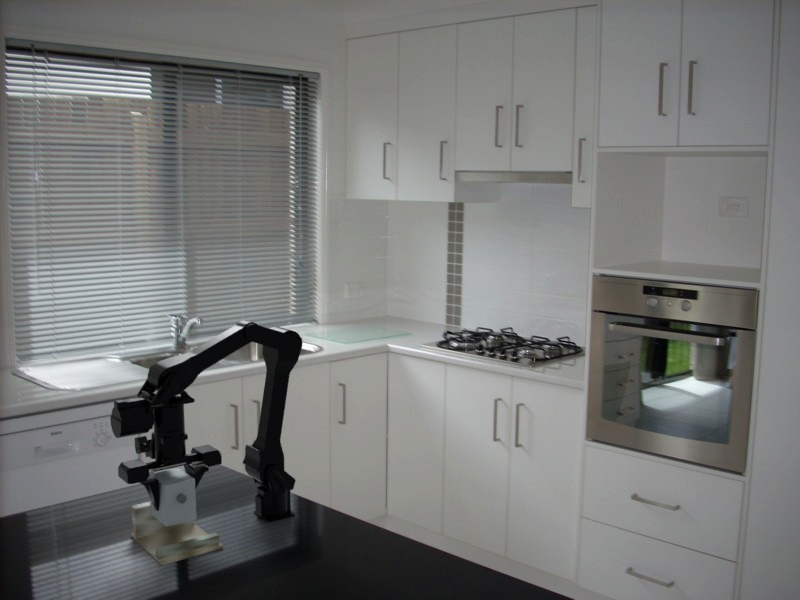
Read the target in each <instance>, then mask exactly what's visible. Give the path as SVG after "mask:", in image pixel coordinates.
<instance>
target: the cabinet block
mask: <svg viewBox="0 0 800 600" xmlns="http://www.w3.org/2000/svg"><path fill="white" fill-rule="evenodd" d="M154 477H155V478H156V479H158V480H159V501H160V505H159V511H156V510H155V508H154V506H153V503H152V501H151V499H150V498H149V502H150V511H151V514H152V515H153V516H154V517H155V518H156V519H158V520H159V521H160V522H161V523H163V524H164V525H165V526H166V527H168V526H172V525H176V524H179V523H183V522H187V521H191V520H194V521H195V520H197V498H196V497H197V496H196V491H195V479H194V478H193V477H191V476H190V475H188V474H187V473H186V472H185V470H182V469H180V468H179V467H175V468H170V469H165V470H161V471H156V472H154Z"/></svg>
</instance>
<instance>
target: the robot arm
mask: <svg viewBox="0 0 800 600" xmlns="http://www.w3.org/2000/svg"><path fill="white" fill-rule="evenodd" d="M250 343H255V344H259V345H262V356H263V357H262V358H263V361H264V364H265V369H266V372H265V379H264V388H263V394H262V402H261V409H260V416H259V422H258V423H259V424H258V430H257V435H256V438H255V440H254V441H253V443H252V444H246V445H245V448H244V451H245V453H244V457H243V461H242V464H243V465H244V470H245V472H246V474H247V475H248V476H249V477H251V478H252V481H253V482H254V484H257V485H259V486H257V487H256V494H255V496H254V497H255V498H254V500H255V502H254V503H255V505H254V506H255V509H254V510H253V513H254V514H255V515H256V516H257V517H259V518H260V519H262V520H264V521H265V522H266V523H271V522H274V521H279V520H282V519H285V518H286V519H287V518H289V517H293V516H296V513H295V511H293V510H292V505H291V502H292V501H291V499H292V498H291V496H292V495H291V491H292V490H294V488H295V483H296V478H294V477H293V476H292V475H291V474H289V473H288V472H287V471H286V470H285V455H284V454H285V453H284V451H283V447H282V442H281V438H282V431H283V425H284V424H283V422H284V417H285V409H286V404H287V403H286V402H287V395H288V388H289V384H290V383H289V382H290V375H291V372H292V371H293V369H295V368H294V367H295V366H296V364H297V363H298V362H299V358H300V356H301V352H302V349H303V338H302V337H301V336H300V334H299V332H298V331H295V330H292V329H288V328H284V327H280V326H272V327H270V328H269V327H265V326H262V325H259V324H257V323H256V322H254V321H250V320H246V319H243V320H239V321H238V322H237V323H236V324H235V325H233V326H231V327H229V328H228V329H227V330H224V331H223V332H221V333H219V334H217V335H216V336H214V337H213V338H211V339H209V340H207V341H206V342H204V343H202V344H200V345H198V346H197V347H195V348H194V349H192V350H190V351H189V352H185V353H183V354H177V355H174V356H170V357H167V358H163V359H162V360H160V361H157V362H155V363H153V364H152V365H150V367H149V368H148V372H147V378H146V379H145V381H144V383H143V384H142V385H141V387H140V389H139V391H138V392H137V394H136V397H135V398H130V399H115V400H114V401H113V408H112V410H111V414H110V416H109V417H110V419H109V420H110V426H111V427H110V428H111V430H112V433H113V435H114V437H115V438H116V439H120V438H125V437H130V436H131V437H132V436H136V437H135V438H134V450H135V454H136V455H139V454H143V453H144V454H145V458H150V459H151V460H154V461H150V462H144V461H143V460H141V459H140V458H135V459H132V460H126V461H122V462H120V464H119V465H118V467H117V475H118V477H119V479H120V480H123V482H125V483H126V484H127V485H134V484H138V483H139V484H140V485H142V486H144V488H145V489H146V492H147V494H148V496H149V500H150V499H151V501H152V503H153V506H154V508H155V510H156V511H159V505H160V501H159V480H158V479H156V478H155V477H154V473H157V472H162V471H166V470H171V469H175V468H179V467H183V468H184V472H185V473H187V474H188V475H190V476H191V477H193V478H194V479H195V492H196V490H197V488H198V485H199V484H200V482H201V481H202V478H203V476H204V474H206V472H209V470H210V467H215V466H219V465H221V464H222V460H223V459H222V453H221V451H220V450H219V449H217V448H215V447H214V446H212V445H211V444H205V445H204V444H203V445H199V446H195V447H192V448H191V450H190V453H188V454H187V451H186V450H187V449H186V448H187V447H186V441H187V440H188V439H189V436H188V434H187V433H186V425H185V405H188V404H192V403H194V402H195V398H193V397H192V396H190V395H189V394H188V392H187V391H186V390H187V389H188V388H189V387H190V386H191V385H192V384H193V383H194V382H196V379H197V378H198V377H199V375H200V374H201V373H203V372H204V371H205V370H207V369H208V368H210V367H212V366H214V365H215V364H217V363H219V362H220V361H222V360H223V359H225V358H227V357H229V356H230V355H232V354H234V353H236V352H237V351H239V350H240V349H242V348H244V347H245V346H247V345H249V344H250ZM155 392H156V393H155ZM150 430H153V431H151V435H150V436H151V437H150V439H148V437H147V436H146V435H142V434H147V433H149V432H150ZM137 435H142V436H137Z"/></svg>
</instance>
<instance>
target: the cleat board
mask: <svg viewBox="0 0 800 600" xmlns="http://www.w3.org/2000/svg"><path fill="white" fill-rule="evenodd" d="M130 508H131V509H130V510H131V511H130V513H131V528H132V531H131V532H132V533H130V537H131V539H133V540H134V541H135V542H136V543H137V544H138V545H140V546H141V548H142V549H144V550H145V551H146V552H147V553H148V554H150V556H152V557H153V558H154V559H155V560H156V561H157V562H158V563H159V564H160V565H161V566H164V565H169V564H171V563H175V562H178V561H182V560H186V559H190V558H193V557H196V556H200V555H203V554H207V553H211V552H214V551H218V550H221V549H223V548H224V547H223V546H224V545H223V544H222V543H221V542H220V534H218V532H213V533H208V532H206V530H204V529H202V528H201V527H200V526H199V525H197V524H196V523H195V522H196V521H195V520H191V521H187V522H183V523H179V524H176V525H172V526H168V527H166V526H165V525H164V524H163V523H161V522H160V521H159V520H158V519H156V518H155V517H154V516H153V515H152V514H151V511H150V501H146V502H142V503H138V504H134V505H131V506H130Z"/></svg>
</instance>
